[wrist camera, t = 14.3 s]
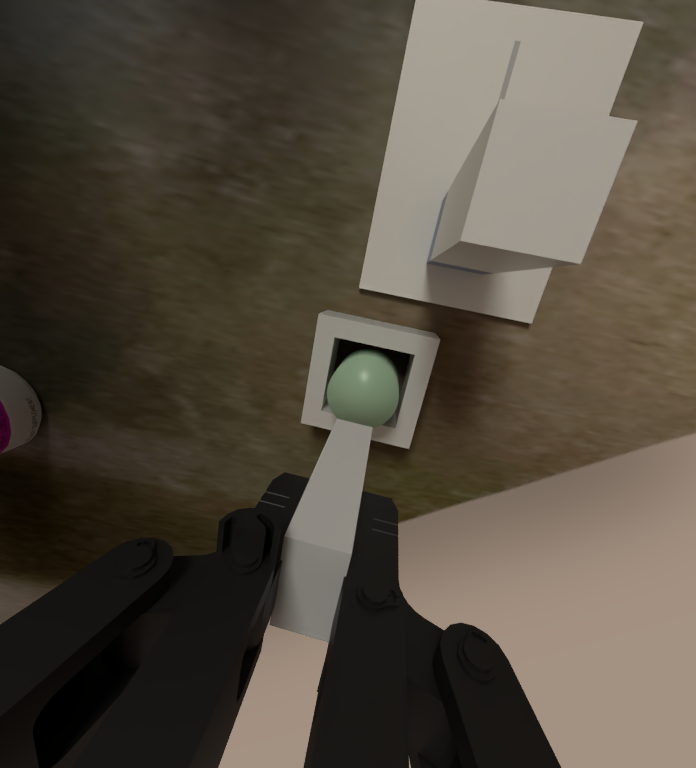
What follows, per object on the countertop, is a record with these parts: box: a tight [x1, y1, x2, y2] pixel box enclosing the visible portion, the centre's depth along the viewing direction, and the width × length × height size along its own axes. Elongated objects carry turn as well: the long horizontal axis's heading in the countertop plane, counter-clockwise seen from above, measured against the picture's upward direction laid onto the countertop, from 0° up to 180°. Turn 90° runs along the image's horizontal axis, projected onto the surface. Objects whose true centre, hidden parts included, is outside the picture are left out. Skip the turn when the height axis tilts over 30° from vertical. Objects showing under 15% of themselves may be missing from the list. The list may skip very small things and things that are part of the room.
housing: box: [301, 310, 440, 449], centre depth 24 cm, size 8×8×3 cm
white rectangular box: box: [427, 99, 637, 275], centre depth 15 cm, size 4×4×12 cm
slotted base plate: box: [359, 0, 643, 324], centre depth 20 cm, size 16×12×1 cm
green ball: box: [327, 349, 399, 428], centre depth 22 cm, size 4×4×4 cm
